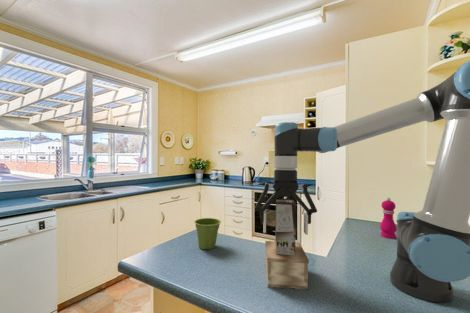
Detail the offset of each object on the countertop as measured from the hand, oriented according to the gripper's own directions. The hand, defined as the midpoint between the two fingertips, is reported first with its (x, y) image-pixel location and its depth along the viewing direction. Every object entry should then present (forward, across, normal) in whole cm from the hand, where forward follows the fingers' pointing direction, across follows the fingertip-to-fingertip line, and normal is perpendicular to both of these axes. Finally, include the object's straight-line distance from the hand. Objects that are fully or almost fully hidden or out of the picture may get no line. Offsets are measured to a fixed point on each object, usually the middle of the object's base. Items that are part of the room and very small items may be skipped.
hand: (284, 232), depth 77 cm
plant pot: (+15, +31, -22) cm, 41 cm away
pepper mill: (+15, -58, -46) cm, 76 cm away
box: (+15, 0, 0) cm, 15 cm away
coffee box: (+6, 0, 0) cm, 6 cm away
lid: (+7, 0, 0) cm, 7 cm away
